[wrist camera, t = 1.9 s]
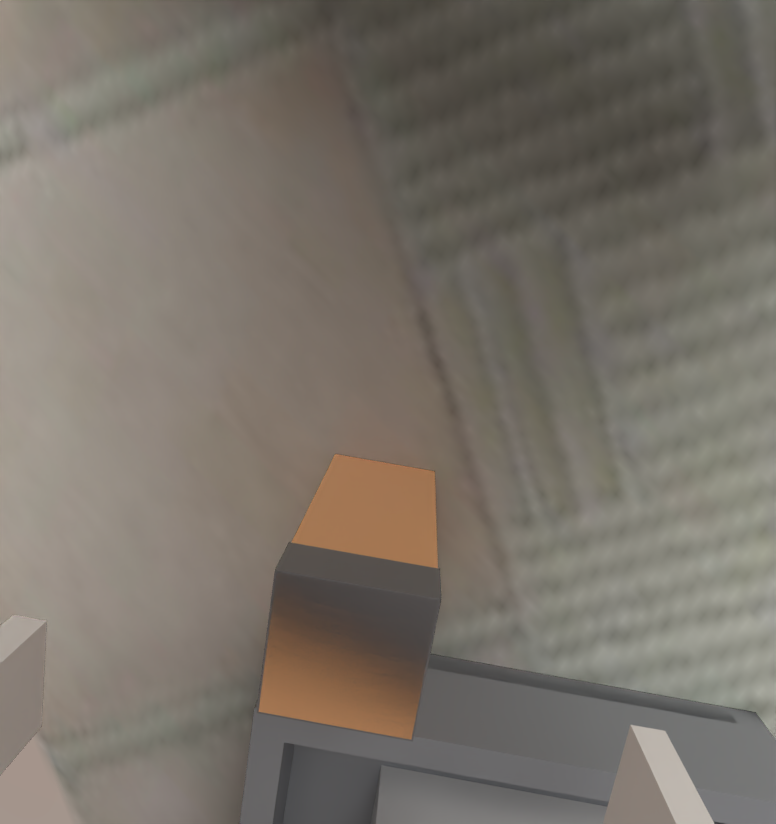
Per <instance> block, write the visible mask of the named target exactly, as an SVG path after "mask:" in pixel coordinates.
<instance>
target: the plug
mask: <svg viewBox="0 0 776 824" xmlns="http://www.w3.org/2000/svg"><path fill="white" fill-rule="evenodd" d="M440 603H441V580H440V569H439V568H438V558H437V526H436V493H435V471H431V470H425V469H419V468H413V467H407V466H402V465H396V464H390V463H384V462H378V461H373V460H367V459H361V458H355V457H350V456H344V455H338V454H335V455H334V457H333V459H332V461H331V463H330V465H329V468H328V470H327V472H326V474H325V476H324V478H323V480H322V482H321V484H320V486H319V488H318V490H317V492H316V494H315V496H314V498H313V500H312V502H311V504H310V506H309V508H308V510H307V512H306V514H305V516H304V518H303V520H302V522H301V524H300V526H299V528H298V530H297V532H296V534H295V536H294V538H293V540H292V542H289V543H288V545H287V547H286V549H285V551H284V553H283V555H282V557H281V559H280V561H279V563H278V565H277V567H276V569H275V574H274V582H273V590H272V597H271V605H270V613H269V620H268V628H267V636H266V643H265V651H264V659H263V666H262V674H261V682H260V689H259V697H258V705H257V712H256V713H259V714H264V715H270V716H275V717H281V718H286V719H292V720H297V721H303V722H308V723H314V724H319V725H324V726H330V727H335V728H341V729H346V730H352V731H357V732H363V733H368V734H374V735H379V736H384V737H390V738H395V739H401V740H406V741H412V742H413V738H414V733H415V728H416V723H417V718H418V713H419V708H420V703H421V698H422V693H423V688H424V683H425V678H426V673H427V668H428V663H429V658H430V653H431V648H432V643H433V638H434V633H435V628H436V623H437V618H438V613H439V608H440Z"/></svg>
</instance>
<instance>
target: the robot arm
mask: <svg viewBox="0 0 776 824" xmlns="http://www.w3.org/2000/svg"><path fill="white" fill-rule="evenodd" d="M46 631H47V621H46V620H40V619H35V618H29V617H24V616H18V615H13V616H11V617H10V618H9V619H8V620H7V621H5V622H4V623H3V624H2V625H1V626H0V775H1V774H2V773H3V772H4V770H5V769H6V768H7V767H8V766H9V764H10V763H11V762H12V761H13V760H14V759H15V758H16V756H17V755H18V754H19V753H20V752H21V750H22V749H23V748H24V747H25V746H26V744H27V743H28V742H29V741H30V740H31V739H32V737H33V736H34V735H35V734H36V733H37V731H38V730H39V729H40V728H41V727H42V712H43V691H44V671H45V651H46ZM603 824H714V822H713V820H712V818H711V816H710V814H709V813H708V811H707V809H706V807H705V805H704V803H703V801H702V799H701V797H700V796H699V794H698V792H697V790H696V788H695V786H694V784H693V782H692V780H691V779H690V777H689V775H688V773H687V771H686V769H685V767H684V765H683V763H682V762H681V760H680V758H679V756H678V754H677V752H676V750H675V748H674V746H673V745H672V743H671V741H670V739H669V737H668V735H667V733H666V731H663V730H658V729H652V728H646V727H641V726H635V725H630V728H629V732H628V736H627V739H626V743H625V746H624V750H623V753H622V757H621V760H620V764H619V768H618V771H617V775H616V778H615V782H614V785H613V789H612V792H611V796H610V799H609V803H608V807H607V810H606V814H605V817H604V821H603Z"/></svg>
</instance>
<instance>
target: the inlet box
mask: <svg viewBox="0 0 776 824" xmlns="http://www.w3.org/2000/svg"><path fill="white" fill-rule="evenodd" d="M257 705H258V700H257V702H256V705H255V707H254V715H253V723H252V731H251V738H250V746H249V754H248V762H247V769H246V777H245V785H244V792H243V800H242V808H241V816H240V823H239V824H603V821H604V817H605V814H606V810H607V807H608V803H609V799H610V796H611V792H612V789H613V785H614V782H615V778H616V775H617V771H618V768H619V764H620V760H621V757H622V753H623V750H624V746H625V743H626V739H627V736H628V732H629V728H630V725H635V726H641V727H646V728H652V729H658V730H663V731H666V733H667V735H668V737H669V739H670V741H671V743H672V745H673V746H674V748H675V750H676V752H677V754H678V756H679V758H680V760H681V762H682V763H683V765H684V767H685V769H686V771H687V773H688V775H689V777H690V779H691V780H692V782H693V784H694V786H695V788H696V790H697V792H698V794H699V796H700V797H701V799H702V801H703V803H704V805H705V807H706V809H707V811H708V813H709V814H710V816H711V818H712V820H713V822H714V824H776V740H775V738H774V737H773V735H772V734H771V733H770V731H769V730H768V729H767V727H766V726H765V725H764V723H763V722H762V720H761V719H760V718H759V716H758V715H757V714H756V712H750V711H745V710H739V709H734V708H728V707H722V706H717V705H711V704H706V703H700V702H695V701H689V700H683V699H678V698H672V697H667V696H661V695H656V694H650V693H645V692H639V691H633V690H628V689H622V688H617V687H611V686H606V685H600V684H594V683H589V682H583V681H578V680H572V679H567V678H561V677H556V676H550V675H544V674H539V673H533V672H528V671H522V670H517V669H511V668H505V667H500V666H494V665H489V664H483V663H478V662H472V661H467V660H461V659H455V658H450V657H444V656H439V655H433V654H430V658H429V663H428V668H427V673H426V678H425V683H424V688H423V693H422V698H421V703H420V708H419V713H418V718H417V723H416V728H415V733H414V738H413V742H412V741H406V740H401V739H395V738H390V737H384V736H379V735H374V734H368V733H363V732H357V731H352V730H346V729H341V728H335V727H330V726H324V725H319V724H314V723H308V722H303V721H297V720H292V719H286V718H281V717H275V716H270V715H264V714H259V713H256V712H257Z"/></svg>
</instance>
